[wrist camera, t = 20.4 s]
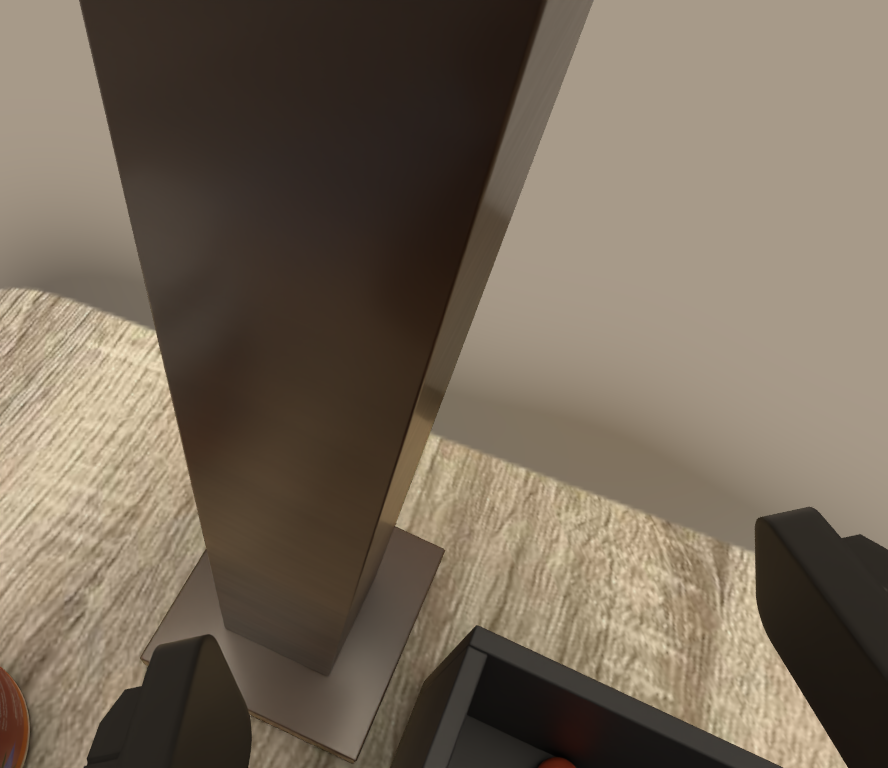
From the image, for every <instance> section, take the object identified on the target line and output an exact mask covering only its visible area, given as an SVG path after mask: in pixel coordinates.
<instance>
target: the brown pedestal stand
mask: <svg viewBox="0 0 888 768" xmlns="http://www.w3.org/2000/svg"><path fill="white" fill-rule="evenodd" d="M79 1H80V6H81V10H82V15H83V19H84V22H85V27H86V32H87V36H88V40H89V45H90V49H91V53H92V57H93V62H94V66H95V71H96V75H97V79H98V83H99V88H100V92H101V96H102V100H103V105H104V109H105V114H106V118H107V122H108V126H109V131H110V135H111V140H112V144H113V148H114V152H115V156H116V161H117V165H118V170H119V174H120V178H121V183H122V187H123V191H124V196H125V200H126V204H127V208H128V213H129V217H130V222H131V225H132V230H133V234H134V238H135V243H136V247H137V252H138V256H139V260H140V265H141V269H142V273H143V277H144V282H145V286H146V290H147V295H148V299H149V303H150V308H151V312H152V316H153V321H154V325H155V329H156V334H157V338H158V342H159V347H160V351H161V355H162V360H163V364H164V368H165V372H166V377H167V381H168V385H169V390H170V394H171V398H172V403H173V407H174V411H175V416H176V420H177V424H178V429H179V433H180V437H181V441H182V446H183V450H184V454H185V459H186V463H187V467H188V472H189V476H190V480H191V485H192V489H193V493H194V497H195V502H196V506H197V510H198V515H199V519H200V523H201V528H202V532H203V536H204V541H205V545H206V550H205V552H204V553H203V555H202V557H201V558H200V560H199V561H198V563H197V565H196V566H195V568H194V570H193V571H192V573H191V575H190V576H189V578H188V580H187V581H186V583H185V584H184V586H183V588H182V589H181V591H180V593H179V594H178V596H177V598H176V599H175V601H174V603H173V604H172V606H171V607H170V609H169V611H168V612H167V614H166V616H165V617H164V619H163V621H162V622H161V624H160V626H159V627H158V629H157V631H156V632H155V634H154V635H153V637H152V639H151V640H150V642H149V644H148V645H147V647H146V649H145V650H144V652H143V654H142V655H141V657H140V659H141V660H142V661H143V663H144V664H145V665H147V666H148V665H149V662H150V659H151V656H152V654H153V651H154V650H155V648H156V647H157V646H158V645H160V644H165V643H169V642H174V641H178V640H183V639H188V638H192V637H197V636H202V635H206V634H211V635H212V636H214V637H215V639H216V640H217V642H218V644H219V646H220V648H221V650H222V652H223V655H224V657H225V659H226V661H227V663H228V665H229V668H230V670H231V672H232V674H233V676H234V678H235V681H236V683H237V685H238V687H239V689H240V691H241V694H242V696H243V698H244V700H245V702H246V705H247V708H248V712H249V714H250V715H252V716H254V717H256V718H258V719H260V720H262V721H264V722H266V723H268V724H271V725H273V726H275V727H277V728H279V729H281V730H283V731H285V732H287V733H289V734H291V735H293V736H296V737H298V738H300V739H302V740H304V741H306V742H308V743H310V744H312V745H314V746H316V747H319V748H321V749H323V750H325V751H327V752H329V753H331V754H333V755H335V756H337V757H339V758H342V759H344V760H346V761H348V762H350V763H354V762H355V761H356V760H357V758H358V756H359V754H360V751H361V749H362V746H363V744H364V742H365V739H366V737H367V735H368V732H369V730H370V727H371V725H372V723H373V720H374V718H375V716H376V713H377V711H378V709H379V706H380V704H381V701H382V699H383V697H384V694H385V692H386V690H387V687H388V685H389V682H390V680H391V678H392V675H393V673H394V671H395V668H396V666H397V664H398V661H399V659H400V656H401V654H402V652H403V649H404V647H405V645H406V642H407V640H408V638H409V635H410V633H411V630H412V628H413V626H414V623H415V621H416V619H417V616H418V614H419V611H420V609H421V607H422V604H423V602H424V600H425V597H426V595H427V593H428V590H429V588H430V585H431V583H432V581H433V578H434V576H435V574H436V571H437V569H438V566H439V564H440V562H441V559H442V557H443V555H444V552H445V550H444V549H443V548H441V547H438V546H436V545H434V544H432V543H430V542H428V541H425V540H423V539H421V538H419V537H417V536H415V535H412V534H410V533H408V532H406V531H404V530H402V529H399V528H397V527H395V524H396V522H397V519H398V516H399V514H400V511H401V508H402V506H403V503H404V500H405V498H406V495H407V492H408V490H409V487H410V484H411V482H412V479H413V477H414V474H415V471H416V469H417V466H418V463H419V461H420V458H421V455H422V453H423V450H424V447H425V445H426V442H427V439H428V437H429V434H430V432H431V429H432V426H433V424H434V421H435V418H436V416H437V413H438V410H439V408H440V405H441V402H442V400H443V397H444V395H445V392H446V389H447V387H448V384H449V381H450V379H451V376H452V373H453V371H454V368H455V365H456V363H457V360H458V357H459V355H460V352H461V349H462V347H463V344H464V341H465V339H466V336H467V334H468V331H469V328H470V326H471V323H472V320H473V318H474V315H475V312H476V310H477V307H478V304H479V301H480V299H481V297H482V294H483V291H484V289H485V286H486V283H487V281H488V278H489V275H490V273H491V270H492V267H493V265H494V262H495V260H496V257H497V254H498V252H499V249H500V246H501V243H502V241H503V238H504V236H505V233H506V230H507V228H508V225H509V223H510V220H511V217H512V214H513V212H514V209H515V207H516V204H517V201H518V199H519V196H520V193H521V191H522V188H523V185H524V182H525V180H526V178H527V175H528V172H529V169H530V167H531V164H532V162H533V159H534V156H535V154H536V151H537V148H538V145H539V143H540V140H541V138H542V135H543V132H544V130H545V127H546V125H547V122H548V119H549V117H550V114H551V111H552V109H553V106H554V103H555V101H556V98H557V96H558V93H559V90H560V87H561V85H562V82H563V79H564V77H565V74H566V72H567V69H568V66H569V64H570V61H571V58H572V56H573V53H574V51H575V48H576V45H577V43H578V40H579V37H580V34H581V32H582V29H583V27H584V24H585V21H586V19H587V16H588V13H589V11H590V8H591V6H592V3H593V0H79Z"/></svg>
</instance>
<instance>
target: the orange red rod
mask: <svg viewBox="0 0 888 768" xmlns="http://www.w3.org/2000/svg"><path fill="white" fill-rule="evenodd" d="M538 768H576V767H575V766H574V765H573V764H572V763H571V762H570V761H568V760H567V759H564V758H560V757H552V758H549V759H547V760H545V761H543V762H542V763H541V764H540V765H539V767H538Z"/></svg>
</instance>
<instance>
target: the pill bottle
mask: <svg viewBox="0 0 888 768" xmlns="http://www.w3.org/2000/svg"><path fill="white" fill-rule="evenodd" d="M29 738H30V721H29V714H28V709H27V705H26V702H25V699H24V697H23V695H22V693H21V691H20V689H19V687H18V685H17V684H16V682H15V681H14V680H13V678H12V677H11V676H10V675H9V674H8V673H7V672H6V671H5V670H4V669H3V668H1V667H0V768H23V766H24V763H25V759H26V756H27V752H28V746H29Z"/></svg>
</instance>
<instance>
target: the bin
mask: <svg viewBox="0 0 888 768" xmlns="http://www.w3.org/2000/svg"><path fill="white" fill-rule="evenodd" d="M552 757H560V758H564V759H567V760H568V761H570V762H571V763H572V764H573V765H574V766H575V767H576V768H783V767H781V766H779V765H776V764H774V763H772V762H770V761H768V760H766V759H764V758H761V757H759V756H757V755H755V754H753V753H751V752H749V751H746V750H744V749H742V748H740V747H738V746H736V745H734V744H731V743H729V742H727V741H725V740H723V739H721V738H719V737H716V736H714V735H712V734H710V733H708V732H706V731H704V730H701V729H699V728H697V727H695V726H693V725H691V724H689V723H686V722H684V721H682V720H680V719H678V718H676V717H673V716H671V715H669V714H667V713H665V712H663V711H661V710H658V709H656V708H654V707H652V706H650V705H648V704H646V703H643V702H641V701H639V700H637V699H635V698H633V697H631V696H628V695H626V694H624V693H622V692H620V691H618V690H616V689H613V688H611V687H609V686H607V685H605V684H603V683H601V682H598V681H596V680H594V679H592V678H590V677H588V676H585V675H583V674H581V673H579V672H577V671H575V670H573V669H570V668H568V667H566V666H564V665H562V664H560V663H558V662H555V661H553V660H551V659H549V658H547V657H545V656H543V655H540V654H538V653H536V652H534V651H532V650H530V649H528V648H525V647H523V646H521V645H519V644H517V643H515V642H513V641H510V640H508V639H506V638H504V637H502V636H500V635H497V634H495V633H493V632H491V631H489V630H487V629H485V628H482V627H480V626H478V625H476V626H475V627H474V628H473V629H472V630H471V631H470V633H469V634H468V635H467V636H466V637H465V638H464V639H463V640H462V641H461V642H460V643H459V644H458V646H457V647H456V648H455V649H454V650H453V651H452V652H451V653H450V654H449V655H448V656H447V657H446V659H445V660H444V661H443V662H442V663H441V664H440V665H439V666H438V667H437V668H436V669H435V670H434V672H433V673H432V674H431V675H430V676H429V677H428V678H427V679H426V680H425V681H424V683H423V686H422V688H421V691H420V693H419V696H418V698H417V701H416V703H415V706H414V708H413V711H412V713H411V716H410V718H409V721H408V723H407V726H406V728H405V731H404V733H403V736H402V738H401V741H400V743H399V746H398V748H397V751H396V754H395V756H394V759H393V761H392V764H391V766H390V768H538V767H539V765H540V764H541V763H542V762H543V761H545V760H547V759H549V758H552Z"/></svg>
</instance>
